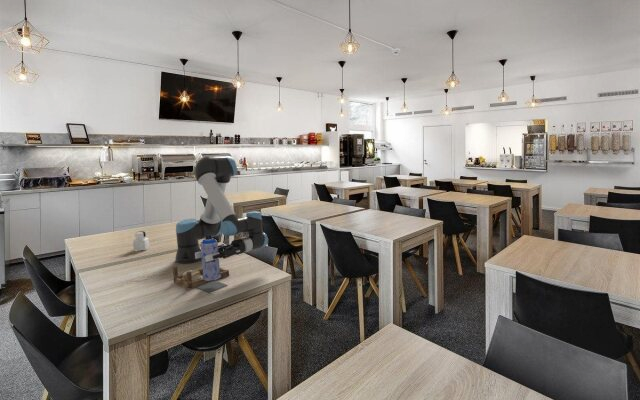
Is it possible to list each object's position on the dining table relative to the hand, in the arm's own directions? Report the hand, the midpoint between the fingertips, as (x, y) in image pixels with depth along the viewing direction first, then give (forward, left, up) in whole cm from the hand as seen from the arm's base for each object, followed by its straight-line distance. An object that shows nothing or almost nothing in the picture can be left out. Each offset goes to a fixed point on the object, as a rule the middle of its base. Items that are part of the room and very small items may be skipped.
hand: (200, 257), depth 156 cm
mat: (0, +5, -16) cm, 16 cm away
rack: (-13, +8, -16) cm, 22 cm away
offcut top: (-13, +2, -13) cm, 19 cm away
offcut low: (-13, +2, -16) cm, 21 cm away
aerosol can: (0, +5, -11) cm, 12 cm away
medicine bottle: (-93, +14, -16) cm, 96 cm away
